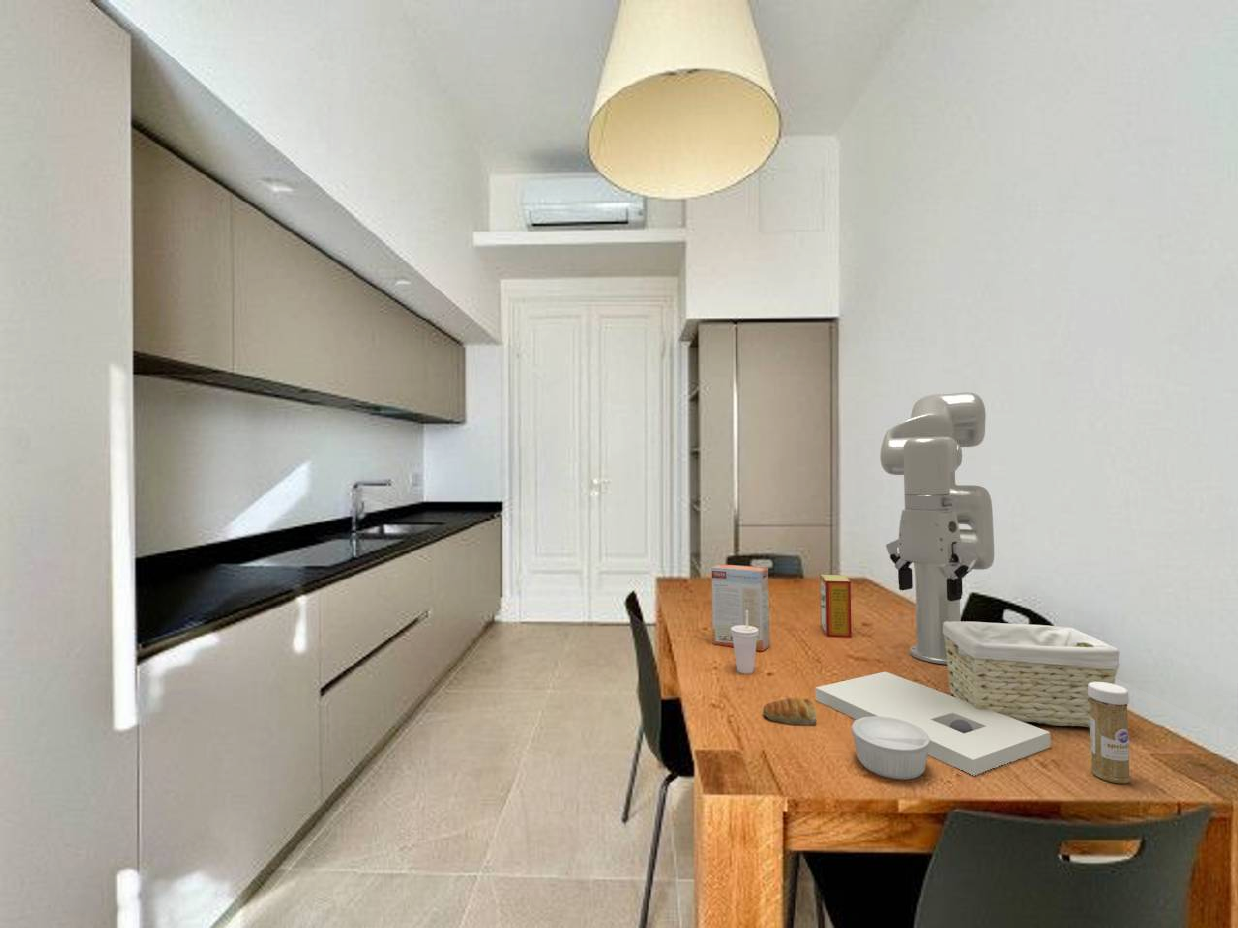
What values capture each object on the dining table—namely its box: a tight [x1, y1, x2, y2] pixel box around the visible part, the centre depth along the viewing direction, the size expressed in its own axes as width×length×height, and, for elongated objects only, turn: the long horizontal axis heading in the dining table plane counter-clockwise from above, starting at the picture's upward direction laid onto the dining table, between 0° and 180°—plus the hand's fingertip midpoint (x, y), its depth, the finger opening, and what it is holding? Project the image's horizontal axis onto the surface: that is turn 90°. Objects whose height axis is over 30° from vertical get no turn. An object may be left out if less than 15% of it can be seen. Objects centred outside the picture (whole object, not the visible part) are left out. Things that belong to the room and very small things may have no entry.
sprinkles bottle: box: [1088, 682, 1131, 784], centre depth 84 cm, size 5×5×13 cm
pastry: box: [762, 696, 817, 726], centre depth 106 cm, size 9×7×4 cm
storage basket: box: [943, 620, 1121, 728], centre depth 107 cm, size 24×16×15 cm
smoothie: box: [731, 610, 759, 674], centre depth 131 cm, size 6×6×14 cm
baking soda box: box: [819, 574, 852, 639], centre depth 160 cm, size 10×6×16 cm
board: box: [814, 671, 1052, 777], centre depth 103 cm, size 32×20×2 cm, turn 25°
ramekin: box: [851, 716, 930, 780], centre depth 88 cm, size 11×11×5 cm
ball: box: [950, 719, 973, 733], centre depth 96 cm, size 4×4×4 cm
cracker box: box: [711, 564, 771, 652], centre depth 150 cm, size 14×6×21 cm, turn 58°
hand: (929, 594), depth 106 cm, fingers open, 9 cm apart
